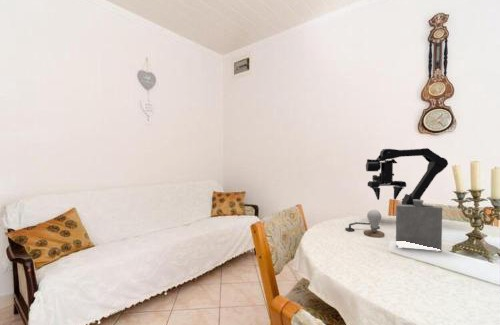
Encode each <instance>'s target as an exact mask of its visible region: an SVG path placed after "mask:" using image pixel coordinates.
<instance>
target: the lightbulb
mask: <svg viewBox="0 0 500 325" xmlns="http://www.w3.org/2000/svg"><path fill="white" fill-rule="evenodd" d="M366 217H367V219H368V221H369V223H370V228H371V229H370V230H371V231H372V232H374V233H375V232H377V231H378V229H377V228H378V226H379V223H380V221H381V220H382V214H381V212H380V211H379V210H376V209H370V210H369V211H368V212H367V215H366Z"/></svg>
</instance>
